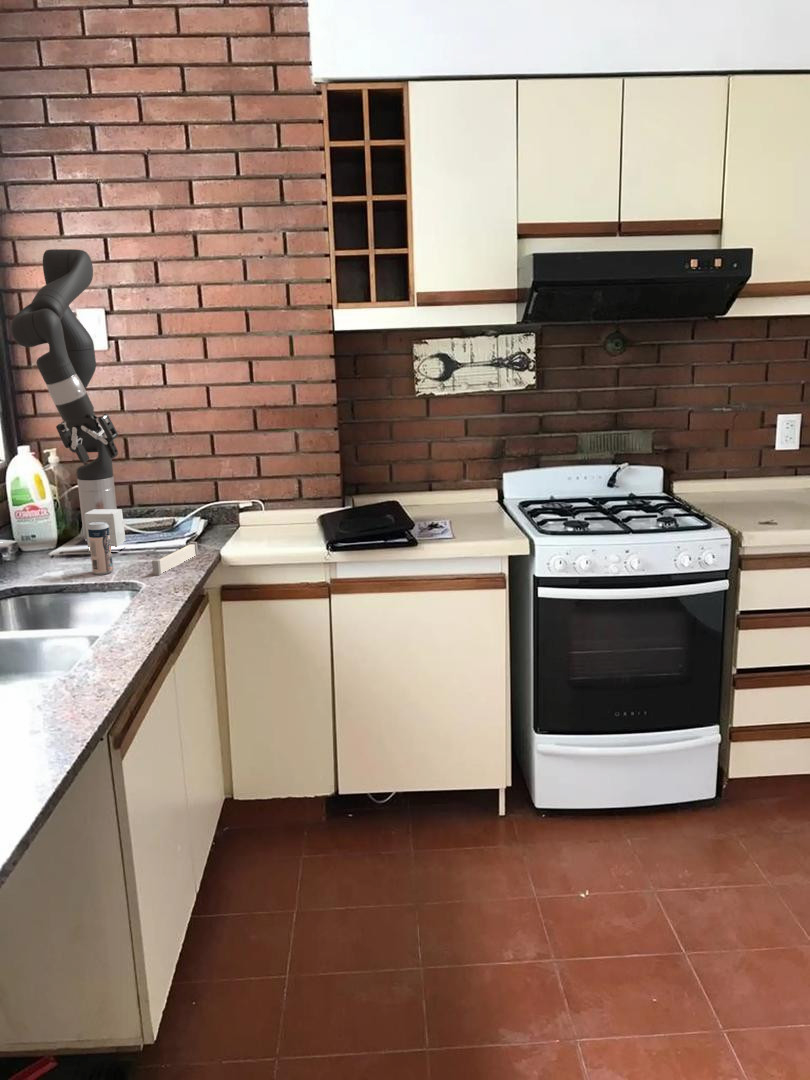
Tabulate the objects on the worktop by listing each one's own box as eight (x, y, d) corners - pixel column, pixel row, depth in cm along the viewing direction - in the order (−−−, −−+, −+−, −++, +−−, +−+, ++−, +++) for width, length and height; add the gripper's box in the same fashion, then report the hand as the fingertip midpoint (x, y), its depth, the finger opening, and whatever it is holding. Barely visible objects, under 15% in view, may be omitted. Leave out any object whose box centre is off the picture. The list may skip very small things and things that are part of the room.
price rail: (159, 575, 198) (157, 561, 197) (153, 574, 198) (151, 560, 197) (198, 555, 215) (197, 542, 214) (192, 554, 215) (191, 541, 215)
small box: (126, 547, 223) (123, 508, 221) (117, 553, 218) (113, 513, 215) (97, 547, 224) (93, 508, 222) (87, 553, 219) (83, 513, 216)
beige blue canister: (114, 573, 200) (109, 524, 197) (92, 576, 198) (87, 526, 195) (113, 568, 204) (108, 520, 201) (92, 571, 202) (86, 522, 199)
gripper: (103, 385, 196) (132, 448, 204) (55, 394, 201) (85, 455, 209) (85, 398, 190) (115, 462, 198) (36, 407, 195) (67, 469, 203)
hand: (100, 459), depth 203 cm, fingers open, 8 cm apart
